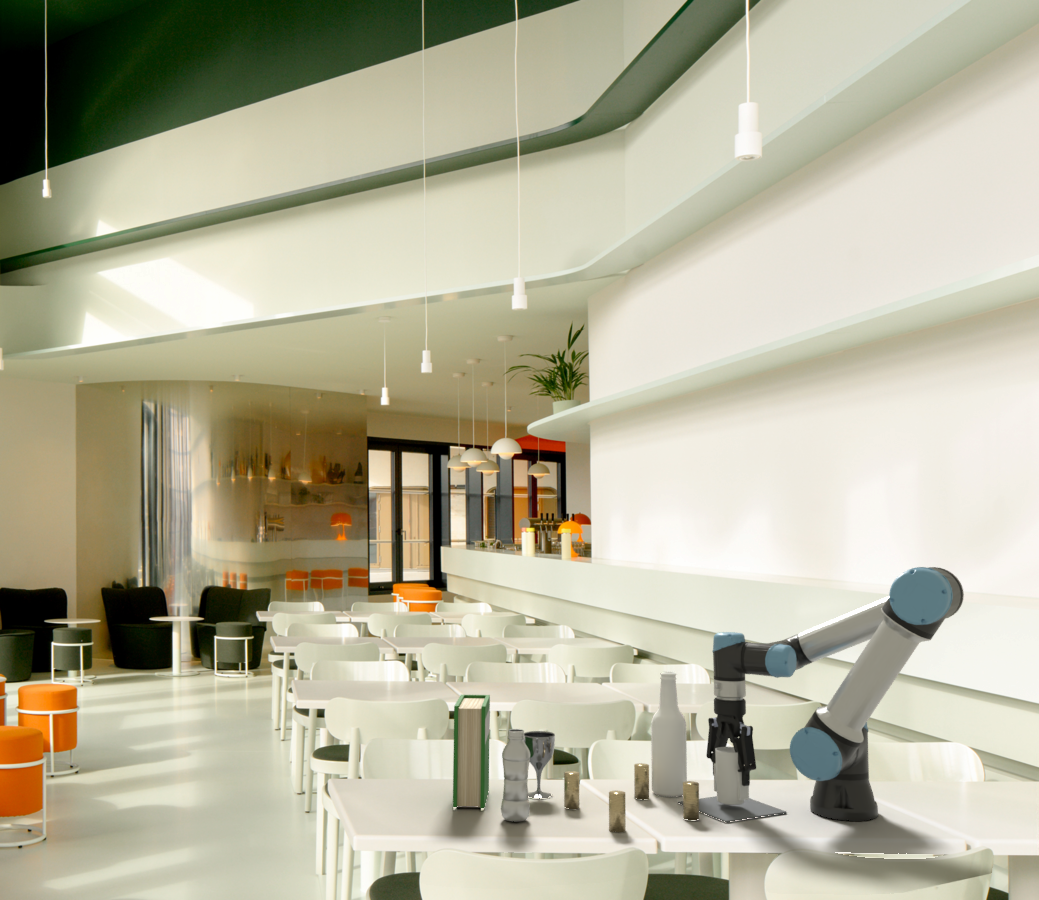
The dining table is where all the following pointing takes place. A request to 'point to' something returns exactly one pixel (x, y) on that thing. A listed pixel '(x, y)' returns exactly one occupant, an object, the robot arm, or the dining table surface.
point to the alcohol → (668, 742)
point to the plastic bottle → (515, 777)
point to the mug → (727, 776)
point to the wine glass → (539, 755)
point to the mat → (735, 809)
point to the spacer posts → (641, 792)
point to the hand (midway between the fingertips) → (731, 794)
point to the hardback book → (471, 750)
